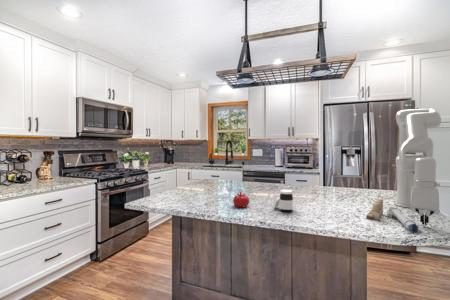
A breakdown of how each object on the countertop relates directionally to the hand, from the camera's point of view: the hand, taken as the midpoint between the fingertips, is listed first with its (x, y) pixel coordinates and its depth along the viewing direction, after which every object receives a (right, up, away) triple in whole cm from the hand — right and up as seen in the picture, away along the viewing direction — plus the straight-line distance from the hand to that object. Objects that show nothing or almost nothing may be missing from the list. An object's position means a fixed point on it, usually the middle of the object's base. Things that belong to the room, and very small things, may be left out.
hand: (424, 224), depth 111 cm
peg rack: (-12, -1, +17) cm, 21 cm away
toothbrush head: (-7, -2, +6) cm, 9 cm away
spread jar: (-58, -1, +31) cm, 65 cm away
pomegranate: (-82, -1, +39) cm, 91 cm away
